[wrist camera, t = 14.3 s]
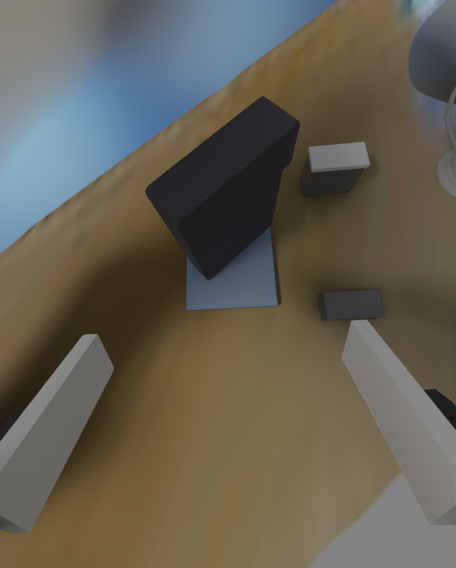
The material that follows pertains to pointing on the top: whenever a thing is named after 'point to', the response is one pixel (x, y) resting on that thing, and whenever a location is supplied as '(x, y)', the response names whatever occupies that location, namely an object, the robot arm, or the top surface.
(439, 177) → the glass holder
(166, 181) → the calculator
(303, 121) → the top surface
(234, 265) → the rubber mat
